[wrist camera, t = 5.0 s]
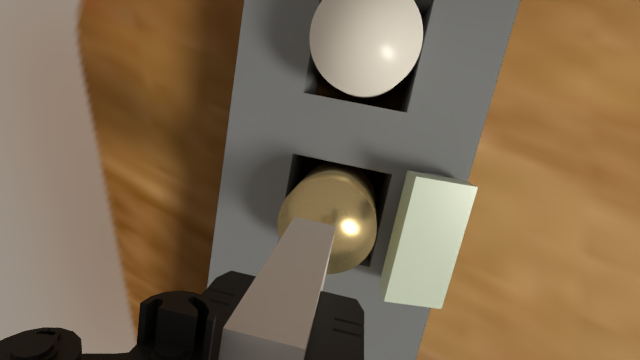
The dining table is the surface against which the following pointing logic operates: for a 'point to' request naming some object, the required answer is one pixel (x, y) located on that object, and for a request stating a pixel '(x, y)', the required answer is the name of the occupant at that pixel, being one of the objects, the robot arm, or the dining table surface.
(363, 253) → the brass button
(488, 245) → the dining table surface
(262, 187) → the console
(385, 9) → the white rounded piece
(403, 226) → the block
